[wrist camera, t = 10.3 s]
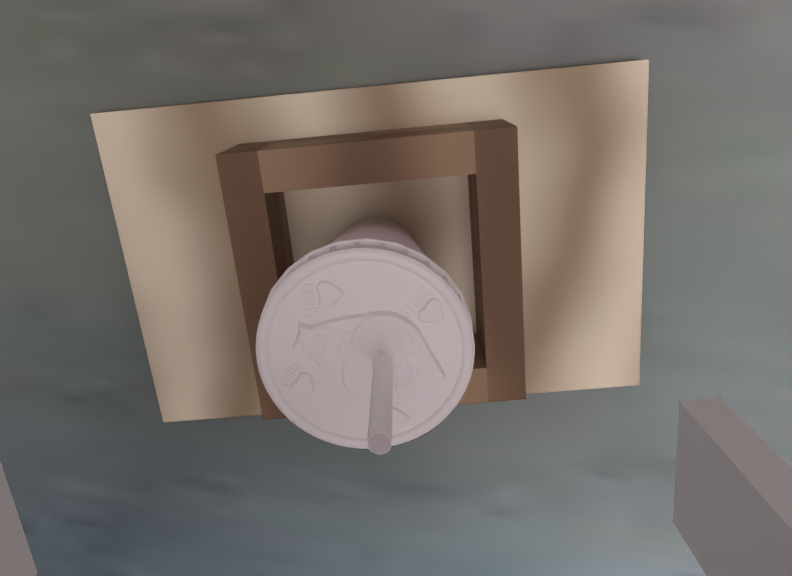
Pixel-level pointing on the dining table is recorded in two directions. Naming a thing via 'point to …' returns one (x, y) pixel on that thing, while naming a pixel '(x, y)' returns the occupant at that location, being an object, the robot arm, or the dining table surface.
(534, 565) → the dining table surface
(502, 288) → the socket board
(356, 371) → the smoothie
